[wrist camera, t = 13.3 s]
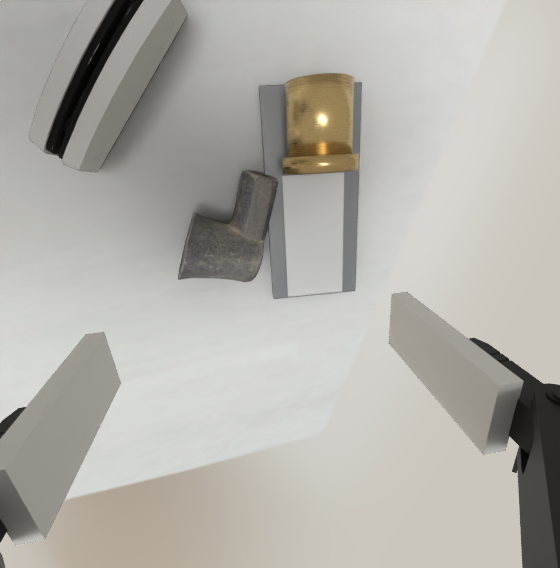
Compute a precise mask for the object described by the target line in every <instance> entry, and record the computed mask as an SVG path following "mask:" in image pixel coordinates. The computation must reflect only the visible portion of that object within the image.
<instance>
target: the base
mask: <svg viewBox="0 0 560 568" xmlns="http://www.w3.org/2000/svg"><path fill="white" fill-rule="evenodd" d="M361 92H362V82H355V83H354V99H353V141H352V154H359V156H360V124H361ZM259 96H260V111H261V126H262V141H263V155H264V170H265V174H266V175H270V176H272V177H274V178H276V179H277V180H278V186H277V192H276V197H275V201H274V205H273V210H272V214H271V218H270V221H269V225H268V230H269V244H270V259H271V274H272V289H273V298H274V299H280V298H290V297H300V296H310V295H320V294H330V293H340V292H350V291H355V283H356V251H357V219H358V187H359V166H358V170H354V171H344V172H329V173H310V174H282V158H288V145H287V122H286V98H285V85H267V86H259Z"/></svg>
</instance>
